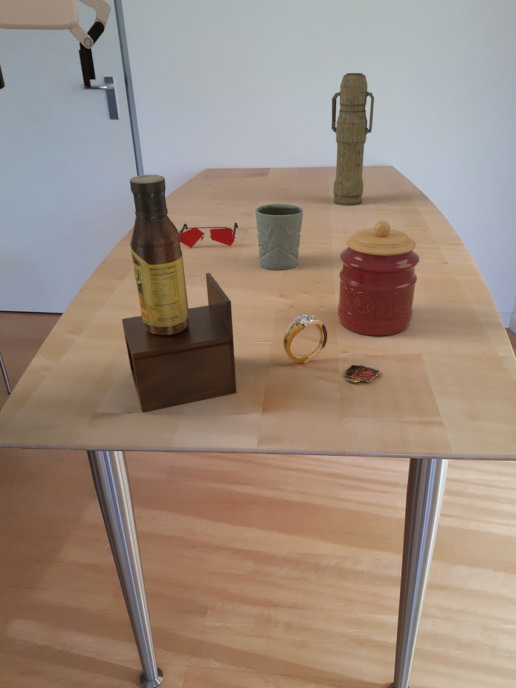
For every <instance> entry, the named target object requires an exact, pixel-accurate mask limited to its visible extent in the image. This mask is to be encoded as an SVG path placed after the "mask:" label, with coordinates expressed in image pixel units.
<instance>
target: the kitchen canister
mask: <svg viewBox="0 0 516 688" xmlns="http://www.w3.org/2000/svg"><path fill="white" fill-rule="evenodd" d="M345 244H346V246H347V247H346V248H345V249H343V250H341V253H340V254H339V256H340V260H341V262H342V268H341V270H340V271H339V275H338V276H339V293H338V294H339V296H338V304H337V315H338V321H339V324H340V325H342V327H344V328H346V329H347V330H349V331H351V332H354V333H357V334H361V335H365V336H375V337H376V335H377V336H380V335H382V336H390V335H396V334H399V333H401V332H404V331H405V330H406V329H407V328H408V327H409V326H410V324H411V321H412V319H413V313H414V309H413V306H414V305H413V304H414V297H415V290H416V283H417V281H418V275H417V274H416V266H417V265H418V264H419V262H420V256H419V254H418V253H417V252H416V251H415V248H416V246H417V242H416V241H415V240H414V239H413V238H411V237H409V235H408V234H406V232H404V231H401V230H398V229H394V228H391V225H390V224H389V222H388V221H386V220H378V221H377V222H376V223H375V224H374V226H373V227H369V228H363V229H361V230H358V231H357V232H355V233H354V234H353V235H350V236H349V237H347V238H346V241H345ZM398 332H399V333H398ZM395 333H396V334H395ZM380 337H381V336H380Z"/></svg>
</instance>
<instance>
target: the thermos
mask: <svg viewBox="0 0 516 688" xmlns="http://www.w3.org/2000/svg"><path fill="white" fill-rule="evenodd" d="M367 97H370V109H369V110H370V111H369V122H368V118H367V110H366V107H367ZM337 98H339V110H338V116H337ZM374 104H375V96H374V95H373V93H372V92H369V91H368V81H367V77H366V74H364V73H363V72H348V73H345V74H343V76H342V79H341V82H340V86H339V92H335V93H334V95H333V96H332V97H331V130H332V131H333V132H334V133H335V143H336V144H337V145H336V167H335V180H334V182H333V203H334V204H335V205H339V206H357V205H360V204H362V203H363V199H362V198H363V194H364V179H363V170H364V169H363V168H364V154H365V144H366V142H367V135H368V134H371V133H372V129H373V120H374V119H373V118H374V106H375V105H374ZM368 123H369V124H368Z"/></svg>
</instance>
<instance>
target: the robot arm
mask: <svg viewBox="0 0 516 688" xmlns="http://www.w3.org/2000/svg"><path fill="white" fill-rule="evenodd" d="M78 1H79V2H80V3H81V4H84V5H86V6H87V7H89V8H91V9H92V10H94V12H95V19H94V22H93V24H92V26H91V27H90V28H89V29H88V31H87V32H86V31H85V30H84V28H83V27H82V26H81V25H80V24H79V20H80V18H79V17H80V16H79V5H78ZM111 10H112V8H111V5H110V3H108V2H107V1H105V0H0V29H4V30H37V31H38V30H39V31H40V30H46V31H57V30H58V31H59V30H68V31H69V32H70V34H72V36H73V37H74V38H75V39H76V40H77V41H78V42H79V43H78V44H79V49H78V56H79V62H80V63H79V64H80V69H81V75H82V81H83V86H84V87H85V88H87V89H91V88H92V83H91V81H93V80H94V81H96V80H97V79H96V71H95V63H94V58H93V57H94V56H93V50H92V48H93V46H94V45H95V44H96V43H97V41H98V40H99V39H100V37H101V36H102V35H103V34H104V32H105V29H106V26H107V22H108V20H109V17H110V13H111ZM5 87H6V83H5V79H4V75H3V70H2V66H1V65H0V90H2V89H4V88H5Z"/></svg>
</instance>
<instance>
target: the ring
mask: <svg viewBox="0 0 516 688" xmlns="http://www.w3.org/2000/svg"><path fill="white" fill-rule="evenodd" d="M296 326H297V327H296ZM309 326H315V327H316V328H317V330H318V332H319V342H318V345H317V347H316V348H315V349H314V351H312V352H311V353H309V354H302V355H301V356H297V355H294V354H293V353H292V351H291V346H292V343H293V340H294V339H295V338H296V337H297V335H298V334H300V333H301V331H303V330H305V328H306V327H309ZM282 342H283V343H282V344H283V349H284V352H285V354H286V355H287V356H288V357H289V359H290V360H292V361H293V362H295V363H304V364H308V363H310V361H312V360H314V359H316V358H317V357H318V356H319V355H321V353H322V352H323V350H324V349H325V347H326V345H327V342H328V331H327V327H326V325H325V324H324V323H323V322H322V321H321V320H319V319H315V313H312V314H311V315H307V313H306V312H303V313H300V314H299V315H297V316H296V317H295V318H294V319H293V320H291V322H290V323H289V324H288V326H287V327H286V330H285V332H284V336H283V341H282Z"/></svg>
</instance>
